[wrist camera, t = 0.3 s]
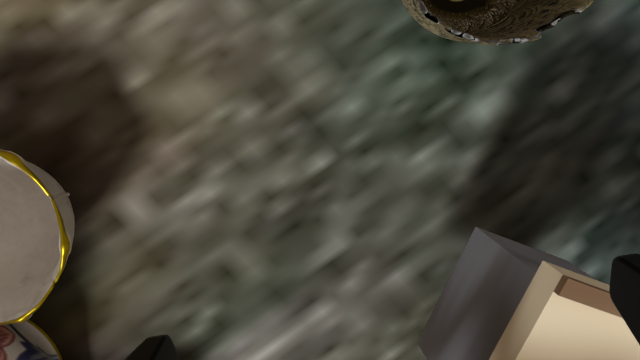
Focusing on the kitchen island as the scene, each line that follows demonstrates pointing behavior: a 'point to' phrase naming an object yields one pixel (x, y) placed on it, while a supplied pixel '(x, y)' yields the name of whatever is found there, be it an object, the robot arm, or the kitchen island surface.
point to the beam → (523, 309)
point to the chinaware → (30, 253)
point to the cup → (492, 18)
